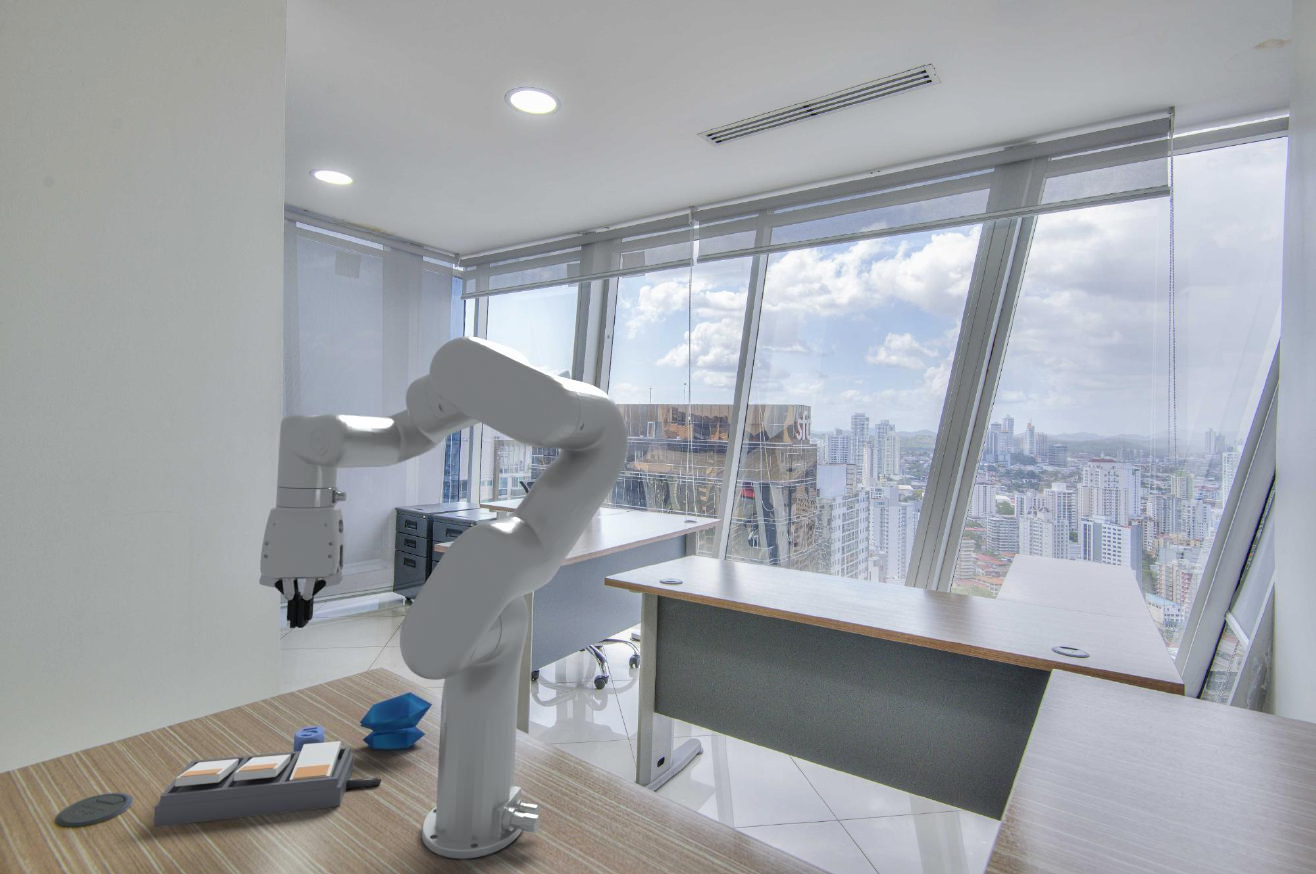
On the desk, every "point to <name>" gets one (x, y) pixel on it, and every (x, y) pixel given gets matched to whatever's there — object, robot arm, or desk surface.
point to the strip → (256, 793)
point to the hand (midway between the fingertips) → (299, 625)
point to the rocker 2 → (316, 761)
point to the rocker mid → (262, 767)
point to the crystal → (395, 722)
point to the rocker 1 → (207, 772)
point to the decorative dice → (308, 737)
